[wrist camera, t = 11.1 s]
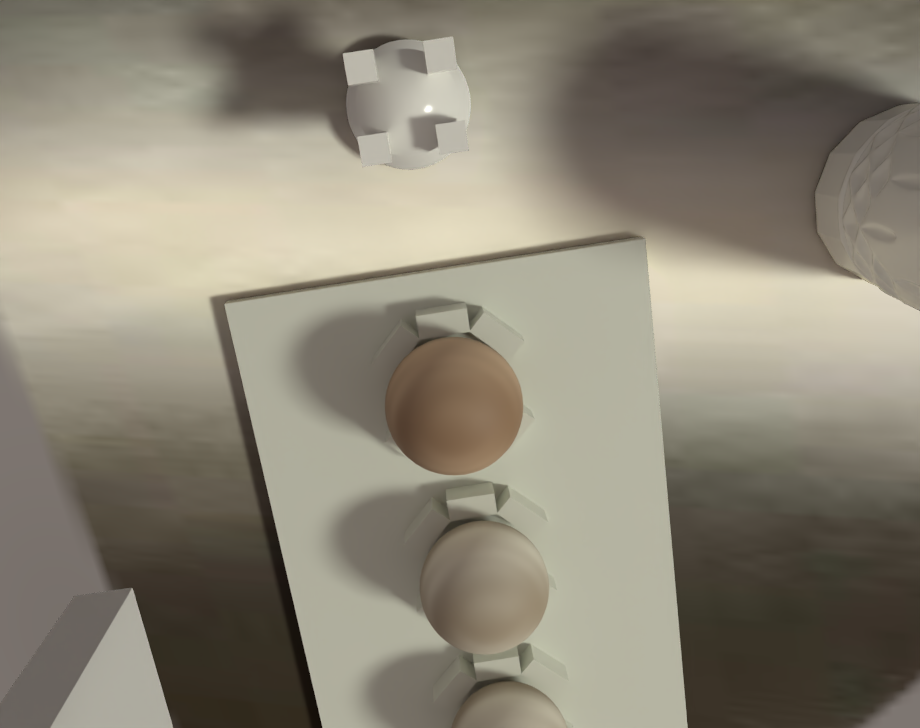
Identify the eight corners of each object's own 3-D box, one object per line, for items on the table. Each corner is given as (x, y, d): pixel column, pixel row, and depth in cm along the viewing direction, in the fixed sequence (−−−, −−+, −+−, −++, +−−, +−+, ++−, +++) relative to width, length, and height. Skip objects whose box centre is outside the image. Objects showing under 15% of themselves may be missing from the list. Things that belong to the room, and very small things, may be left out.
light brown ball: (378, 332, 32) (368, 371, 27) (507, 313, 32) (520, 347, 27) (400, 452, 34) (394, 508, 29) (524, 434, 34) (539, 487, 29)
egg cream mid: (410, 509, 34) (409, 572, 29) (531, 490, 34) (550, 550, 29) (429, 615, 36) (431, 692, 31) (546, 597, 36) (566, 671, 31)
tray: (227, 300, 32) (217, 310, 31) (641, 236, 32) (653, 242, 31) (344, 805, 39) (340, 835, 37) (686, 751, 39) (698, 778, 37)
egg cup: (337, 51, 30) (320, 36, 25) (460, 32, 30) (468, 13, 25) (359, 176, 31) (347, 187, 26) (477, 158, 31) (489, 165, 26)
